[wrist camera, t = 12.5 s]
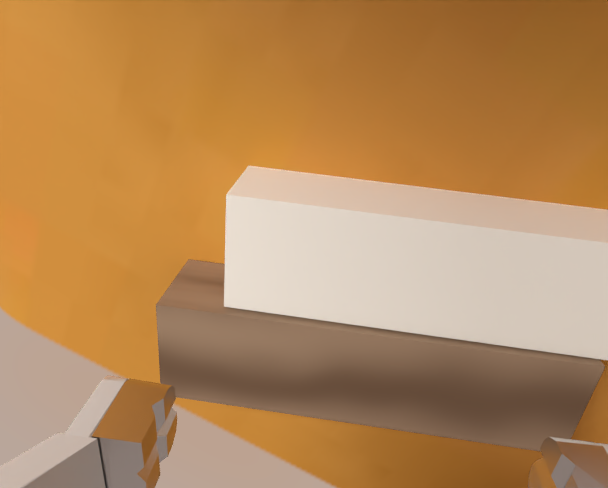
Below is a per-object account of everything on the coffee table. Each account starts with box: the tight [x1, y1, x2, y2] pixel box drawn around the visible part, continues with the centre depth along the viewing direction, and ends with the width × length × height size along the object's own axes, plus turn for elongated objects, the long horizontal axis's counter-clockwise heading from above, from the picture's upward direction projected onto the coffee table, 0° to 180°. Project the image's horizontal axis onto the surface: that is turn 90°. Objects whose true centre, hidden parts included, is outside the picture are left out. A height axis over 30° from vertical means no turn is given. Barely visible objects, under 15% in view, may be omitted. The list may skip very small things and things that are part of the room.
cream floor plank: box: [224, 166, 608, 360], centre depth 24 cm, size 6×20×5 cm, turn 85°
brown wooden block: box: [156, 260, 605, 451], centre depth 26 cm, size 6×22×5 cm, turn 85°
